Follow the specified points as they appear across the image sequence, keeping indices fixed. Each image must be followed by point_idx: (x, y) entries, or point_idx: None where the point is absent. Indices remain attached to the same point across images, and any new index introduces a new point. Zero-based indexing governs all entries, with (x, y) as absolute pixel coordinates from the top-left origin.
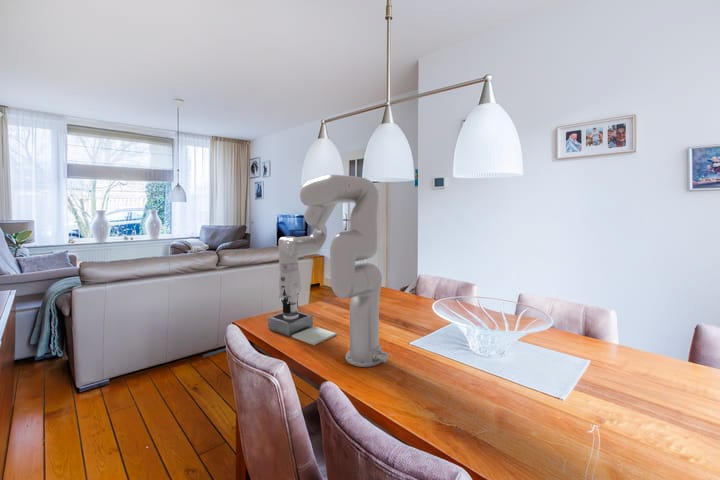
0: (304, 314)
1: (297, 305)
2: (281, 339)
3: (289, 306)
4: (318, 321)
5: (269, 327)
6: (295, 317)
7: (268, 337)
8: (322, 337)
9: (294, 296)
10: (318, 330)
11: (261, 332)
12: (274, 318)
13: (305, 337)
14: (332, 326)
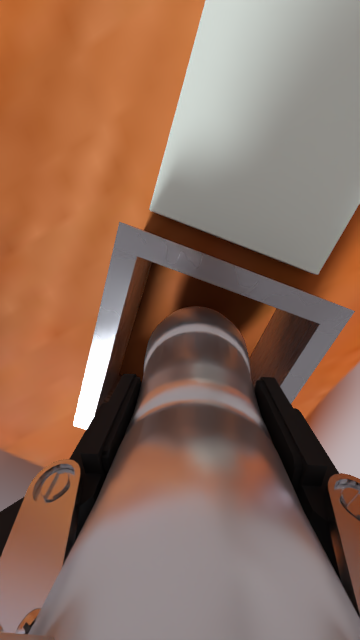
0: (119, 303)
1: (121, 393)
2: None
3: (305, 432)
4: (45, 244)
5: None
6: (222, 328)
7: (324, 376)
8: (338, 18)
9: (294, 591)
10: (209, 138)
11: None
12: None
13: (347, 167)
14: (76, 95)
